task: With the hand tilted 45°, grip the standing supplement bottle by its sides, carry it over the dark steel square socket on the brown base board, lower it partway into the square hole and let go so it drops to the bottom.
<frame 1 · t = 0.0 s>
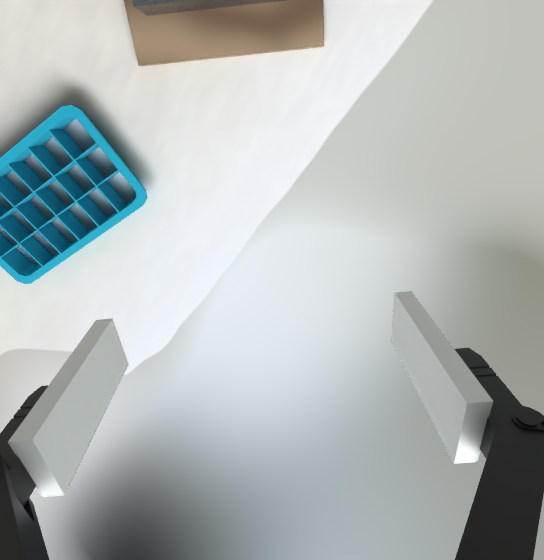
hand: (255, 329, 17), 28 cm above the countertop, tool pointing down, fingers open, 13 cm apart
ice cube tray: (59, 196, 42), on the countertop
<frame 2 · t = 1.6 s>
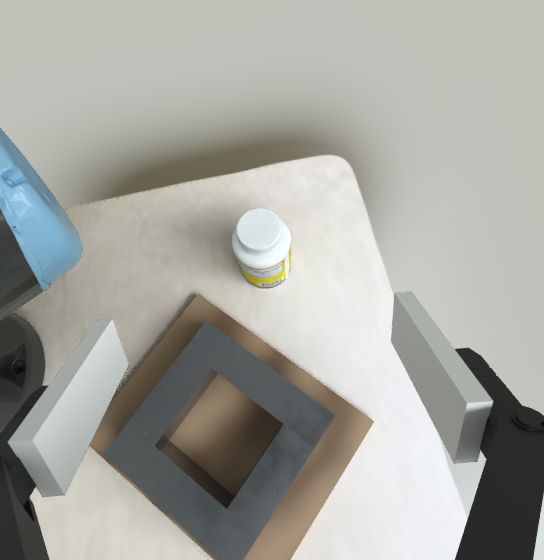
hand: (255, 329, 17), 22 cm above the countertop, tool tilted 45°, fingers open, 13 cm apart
brown base board: (228, 429, 36), on the countertop
supplement bottle: (266, 267, 41), on the countertop
square socket: (223, 432, 33), on the brown base board, point 3 cm above the countertop
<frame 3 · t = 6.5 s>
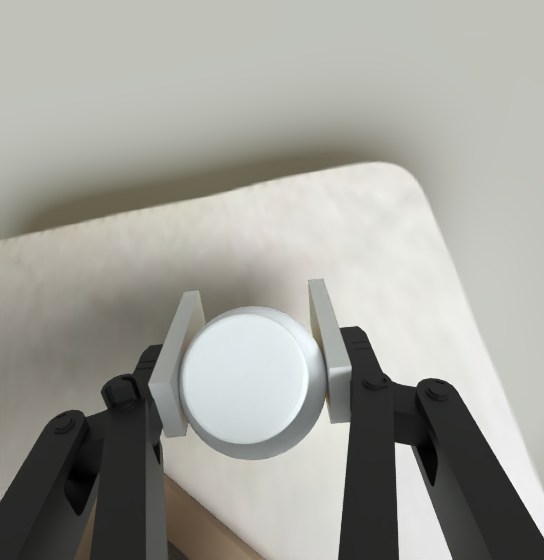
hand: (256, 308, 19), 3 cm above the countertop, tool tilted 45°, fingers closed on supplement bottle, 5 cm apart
supplement bottle: (266, 383, 21), on the countertop, touching gripper
when the fingers open (7 cm above the countertop, at t = 12.7 s): supplement bottle drops 2 cm, resting on brown base board.
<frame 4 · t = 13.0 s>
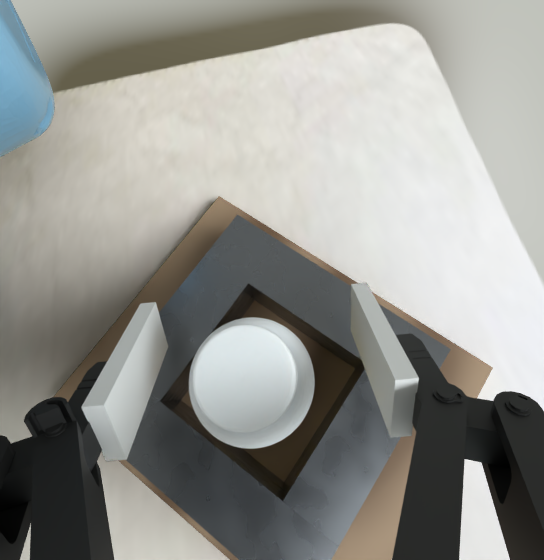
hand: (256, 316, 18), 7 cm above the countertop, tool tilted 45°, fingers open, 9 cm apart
brown base board: (269, 384, 24), on the countertop
supplement bottle: (265, 385, 23), point 1 cm above the countertop, touching brown base board
square socket: (266, 383, 21), on the brown base board, point 3 cm above the countertop
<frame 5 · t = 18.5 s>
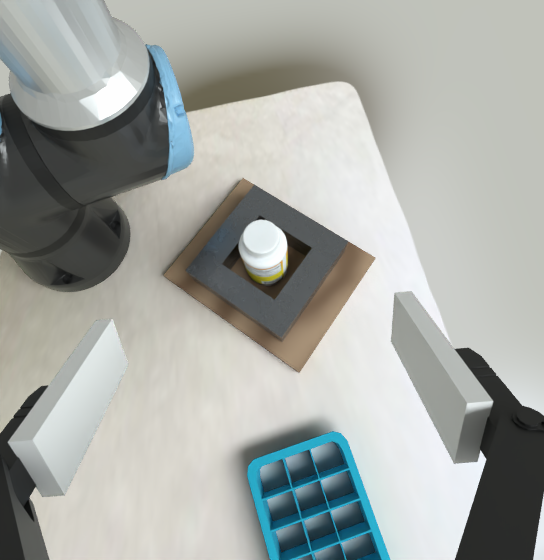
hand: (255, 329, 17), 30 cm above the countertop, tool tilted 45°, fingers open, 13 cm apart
ice cube tray: (323, 535, 40), on the countertop
brown base board: (269, 269, 49), on the countertop
supplement bottle: (267, 267, 49), point 1 cm above the countertop, touching brown base board
square socket: (267, 261, 47), on the brown base board, point 3 cm above the countertop
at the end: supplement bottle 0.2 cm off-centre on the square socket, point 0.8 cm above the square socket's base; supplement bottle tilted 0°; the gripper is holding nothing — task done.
